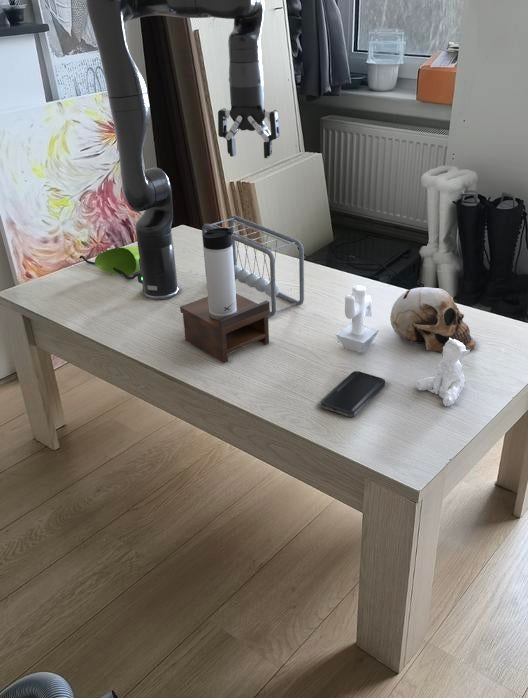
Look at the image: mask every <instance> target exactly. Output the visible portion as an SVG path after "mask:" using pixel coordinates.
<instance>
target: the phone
mask: <svg viewBox="0 0 528 698" xmlns="http://www.w3.org/2000/svg"><path fill="white" fill-rule="evenodd" d="M385 387H386V379H385V378H384V377H379V376H376V375H373V374H369V373H367V372H363V371H359V370H354V371H352V372H351V373H350V374H348V375H347V376H346V377H345V378H344V379H343V380H342V381H341V382H339V384H338V385H336V386H335V387H334V388H333V389H332V390H331V391H330V392H328V393H327V394H326V396H324V397H323V398H322V399H321V401H320V407H321V408H322V409H324V410H327V411H330V412H333V413H336V414H339V415H341V416H345V417H347V418H353V417H356V416H357V415H358V414H359V413H360V411H362V410H363V409H364V408H365V407H366V406H367V404H369V403H370V402H371V401H372V400H373V399H374V398H375V397H376V396H377V395H378V393H380V392H381V391H382V390H383V389H385Z"/></svg>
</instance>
